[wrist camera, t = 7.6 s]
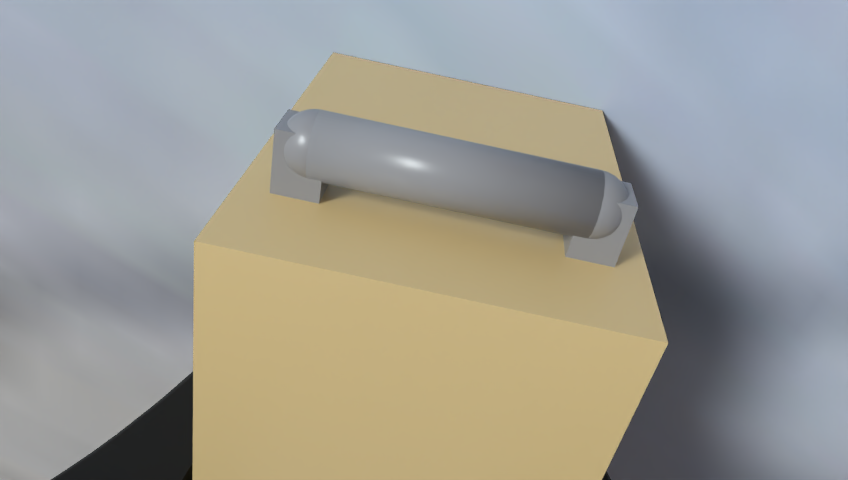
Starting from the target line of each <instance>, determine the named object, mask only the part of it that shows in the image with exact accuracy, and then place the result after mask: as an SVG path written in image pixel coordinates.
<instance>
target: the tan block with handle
mask: <svg viewBox="0 0 848 480" xmlns="http://www.w3.org/2000/svg"><path fill="white" fill-rule="evenodd" d="M638 208H639V207H638V204H637V200H636V197H635V194H634V191H633V187H632V184H631V183H628V182H623V181H622V178H621V175H620V171H619V168H618V164H617V161H616V157H615V154H614V150H613V147H612V143H611V139H610V136H609V132H608V129H607V125H606V122H605V118H604V115H603V111H602V110H597V109H592V108H588V107H583V106H578V105H574V104H569V103H565V102H560V101H555V100H551V99H546V98H541V97H537V96H532V95H528V94H523V93H518V92H514V91H509V90H504V89H500V88H495V87H491V86H486V85H481V84H477V83H472V82H467V81H463V80H458V79H454V78H449V77H444V76H440V75H435V74H430V73H426V72H421V71H417V70H412V69H407V68H403V67H398V66H393V65H389V64H384V63H379V62H375V61H370V60H366V59H361V58H356V57H352V56H347V55H342V54H338V53H333V54H332V55H331V56H330V58H329V59H328V60H327V62H326V63H325V64H324V66H323V67H322V68H321V70H320V71H319V73H318V74H317V75H316V77H315V78H314V79H313V81H312V82H311V83H310V85H309V86H308V87H307V89H306V90H305V92H304V93H303V94H302V96H301V97H300V98H299V100H298V101H297V102H296V104H295V105H294V106H293V108H292V109H291V110H290V109H289V110H288V111H287V112H286V114H285V115H284V116H283V118H282V119H281V120H280V122H279V123H278V124H277V126H276V127H275V128H274V134H273V135H272V136H271V138H270V139H269V140H268V142H267V143H266V144H265V146H264V147H263V148H262V150H261V151H260V152H259V154H258V155H257V157H256V158H255V159H254V161H253V162H252V163H251V165H250V166H249V167H248V169H247V170H246V171H245V173H244V174H243V176H242V177H241V178H240V180H239V181H238V182H237V184H236V185H235V186H234V188H233V189H232V190H231V192H230V193H229V194H228V196H227V197H226V199H225V200H224V201H223V203H222V204H221V205H220V207H219V208H218V209H217V211H216V212H215V213H214V215H213V216H212V218H211V219H210V220H209V222H208V223H207V224H206V226H205V227H204V228H203V230H202V231H201V232H200V234H199V235H198V236H197V238H196V239H195V241H194V332H193V470H192V480H602V478H603V476H604V474H605V472H606V470H607V468H608V466H609V464H610V462H611V460H612V458H613V456H614V454H615V452H616V450H617V448H618V445H619V443H620V441H621V439H622V437H623V435H624V433H625V431H626V429H627V427H628V425H629V423H630V421H631V419H632V417H633V415H634V413H635V411H636V408H637V406H638V404H639V402H640V400H641V398H642V396H643V394H644V392H645V390H646V388H647V386H648V384H649V382H650V380H651V378H652V376H653V374H654V371H655V369H656V367H657V365H658V363H659V361H660V359H661V357H662V355H663V353H664V351H665V349H666V347H667V345H668V340H667V337H666V333H665V330H664V326H663V323H662V319H661V316H660V312H659V308H658V305H657V301H656V298H655V294H654V291H653V287H652V284H651V280H650V277H649V273H648V270H647V266H646V263H645V259H644V256H643V252H642V249H641V245H640V242H639V238H638V235H637V231H636V228H635V224H634V218H635V215H636V213H637V210H638Z"/></svg>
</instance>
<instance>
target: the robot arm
mask: <svg viewBox="0 0 848 480" xmlns="http://www.w3.org/2000/svg"><path fill="white" fill-rule="evenodd" d="M192 470H193V372H192V373H191V374H190V375H188V376H187V377H186V378H185V379H184V380H183V381H182V382H180V383H179V384H178V385H177V386H176V387H175V388H174V389H172V390H171V391H170V392H169V393H168V394H167V395H166V396H164V397H163V398H162V399H161V400H160V401H158V402H157V403H156V404H155V405H154V406H152V407H151V408H150V409H148V410H147V411H146V412H145V413H143V414H142V415H141V416H140V417H138V418H137V419H136V420H134V421H133V422H132V423H131V424H129V425H128V426H127V427H126V428H124V429H123V430H122V431H120V432H119V433H118V434H117V435H115V436H114V437H112V438H111V439H110V440H108V441H107V442H106V443H104V444H103V445H101V446H100V447H99V448H97V449H96V450H94V451H93V452H92V453H90V454H89V455H87V456H86V457H84V458H83V459H81V460H80V461H79V462H77V463H76V464H74V465H73V466H71V467H70V468H68V469H67V470H65V471H64V472H62V473H61V474H59V475H57V476H56V477H54V478H53V479H51V480H192ZM602 480H611V479H610V477H609V475H608V473H607V471H606V472H605V474H604V476H603V478H602Z"/></svg>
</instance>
